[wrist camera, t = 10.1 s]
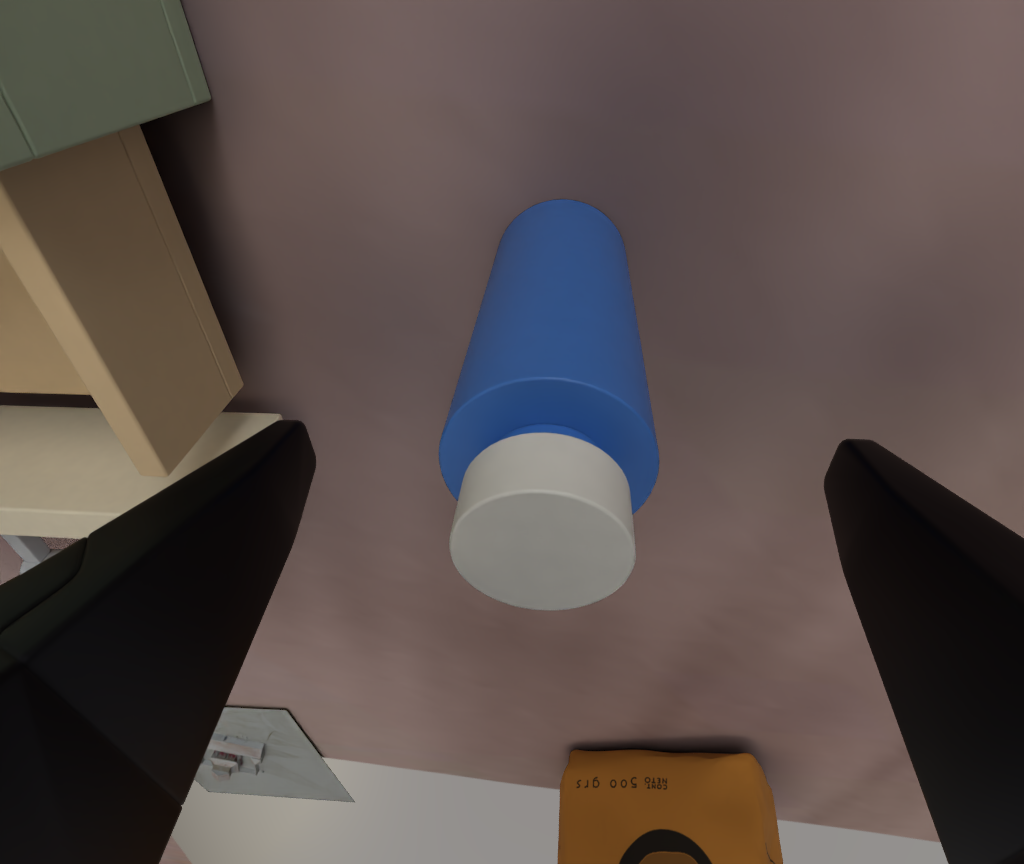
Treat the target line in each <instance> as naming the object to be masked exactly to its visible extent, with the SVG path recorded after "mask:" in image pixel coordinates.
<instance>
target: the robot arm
mask: <svg viewBox="0 0 1024 864" xmlns="http://www.w3.org/2000/svg"><path fill="white" fill-rule="evenodd" d="M315 468H316V456H315V452H314V449H313V446H312V444H311V441H310V438H309V435H308V432H307V429H306V426H305V425H304V423H303V422H301V421H298V420H278V421H276V422H274V423H273V424H271V425H269V426H268V427H266V428H264V429H263V430H261V431H259V432H258V433H256V434H254V435H253V436H251V437H249V438H248V439H246V440H244V441H243V442H241V443H239V444H238V445H236V446H234V447H233V448H231V449H229V450H228V451H226V452H224V453H223V454H221V455H219V456H218V457H216V458H214V459H213V460H211V461H209V462H208V463H206V464H204V465H203V466H201V467H199V468H198V469H196V470H195V471H193V472H191V473H190V474H188V475H186V476H185V477H183V478H181V479H180V480H178V481H176V482H175V483H173V484H171V485H170V486H168V487H166V488H165V489H163V490H161V491H160V492H158V493H156V494H155V495H153V496H151V497H150V498H148V499H146V500H145V501H143V502H141V503H140V504H138V505H136V506H135V507H133V508H131V509H130V510H128V511H126V512H125V513H123V514H121V515H120V516H118V517H116V518H115V519H113V520H112V521H110V522H108V523H107V524H105V525H103V526H102V527H100V528H98V529H97V530H95V531H93V532H92V533H90V534H89V536H88V538H87V537H83V538H81V539H80V540H78V541H76V542H75V543H73V544H72V545H70V546H68V547H67V548H65V549H63V550H62V551H60V552H58V553H57V554H55V555H53V556H51V557H50V558H48V559H46V560H45V561H43V562H41V563H39V564H38V565H36V566H34V567H33V568H31V569H29V570H27V571H26V572H24V573H22V574H20V575H19V576H17V577H15V578H13V579H11V580H9V581H8V582H6V583H4V584H2V585H0V864H159V862H160V860H161V857H162V855H163V853H164V850H165V848H166V846H167V843H168V841H169V838H170V836H171V834H172V831H173V829H174V826H175V824H176V822H177V819H178V817H179V815H180V812H181V810H182V806H181V805H183V804H184V802H185V799H186V797H187V795H188V792H189V790H190V788H191V785H192V783H193V781H194V778H195V776H196V773H197V771H198V769H199V766H200V764H201V762H202V759H203V757H204V754H205V752H206V750H207V747H208V745H209V743H210V740H211V738H212V736H213V733H214V731H215V728H216V726H217V724H218V721H219V719H220V717H221V714H222V712H223V709H224V707H225V705H226V702H227V700H228V698H229V695H230V693H231V690H232V688H233V686H234V683H235V681H236V679H237V676H238V674H239V672H240V669H241V667H242V664H243V662H244V660H245V657H246V655H247V653H248V650H249V648H250V645H251V643H252V641H253V638H254V636H255V634H256V631H257V629H258V626H259V624H260V622H261V619H262V617H263V615H264V612H265V610H266V608H267V605H268V603H269V600H270V598H271V596H272V593H273V591H274V589H275V586H276V584H277V581H278V579H279V577H280V574H281V572H282V570H283V567H284V565H285V562H286V560H287V558H288V555H289V553H290V550H291V548H292V545H293V543H294V540H295V537H296V534H297V531H298V527H299V524H300V520H301V517H302V514H303V510H304V507H305V503H306V500H307V496H308V493H309V489H310V486H311V482H312V479H313V476H314V472H315ZM824 491H825V495H826V500H827V504H828V509H829V513H830V517H831V522H832V526H833V531H834V535H835V539H836V544H837V548H838V553H839V557H840V561H841V565H842V569H843V572H844V575H845V578H846V581H847V584H848V587H849V590H850V593H851V596H852V598H853V601H854V604H855V607H856V609H857V612H858V615H859V618H860V620H861V623H862V626H863V629H864V632H865V634H866V637H867V640H868V643H869V645H870V648H871V651H872V654H873V656H874V659H875V662H876V665H877V667H878V670H879V673H880V676H881V678H882V681H883V684H884V687H885V690H886V692H887V695H888V698H889V701H890V703H891V706H892V709H893V712H894V714H895V717H896V720H897V723H898V725H899V728H900V731H901V734H902V737H903V739H904V742H905V745H906V748H907V750H908V753H909V756H910V759H911V761H912V764H913V767H914V770H915V772H916V775H917V778H918V781H919V783H920V786H921V789H922V792H923V795H924V797H925V800H926V803H927V806H928V808H929V811H930V814H931V817H932V819H933V822H934V825H935V828H936V830H937V833H938V836H939V839H940V842H941V844H942V847H943V850H944V852H945V855H946V858H947V861H948V863H949V864H1024V538H1022V537H1021V536H1019V535H1018V534H1016V533H1015V532H1013V531H1012V530H1010V529H1008V528H1007V527H1005V526H1004V525H1002V524H1001V523H999V522H998V521H996V520H995V519H993V518H992V517H990V516H988V515H987V514H985V513H984V512H982V511H981V510H979V509H978V508H976V507H975V506H973V505H971V504H970V503H968V502H967V501H965V500H964V499H962V498H961V497H959V496H958V495H956V494H955V493H953V492H951V491H950V490H948V489H947V488H945V487H944V486H942V485H941V484H939V483H938V482H936V481H934V480H933V479H931V478H930V477H928V476H927V475H925V474H924V473H922V472H921V471H919V470H917V469H916V468H914V467H913V466H911V465H910V464H908V463H907V462H905V461H904V460H902V459H901V458H899V457H897V456H896V455H894V454H893V453H891V452H890V451H888V450H887V449H885V448H884V447H882V446H880V445H879V444H877V443H876V442H874V441H872V440H865V439H846V440H843V441H842V442H841V443H840V444H839V446H838V448H837V450H836V452H835V455H834V457H833V459H832V461H831V464H830V466H829V468H828V471H827V473H826V476H825V479H824Z"/></svg>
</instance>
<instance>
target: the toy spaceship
mask: <svg viewBox="0 0 1024 864" xmlns="http://www.w3.org/2000/svg"><path fill="white" fill-rule="evenodd" d="M194 780H196V781H197V782H198V783H199V784H200V785H201V786H202V787H204V788H205V789H206V790H207V791H208V792H217V793H231V794H245V795H260V796H274V797H288V798H302V799H316V800H330V801H344V802H355V801H354V800H353V799H352V797H351V796H350V795H349V793H348V792H347V791H346V789H345V788H344V787H343V785H342V784H341V783H340V781H339V780H338V779H337V777H336V776H335V775H334V773H333V772H332V771H331V769H330V768H329V767H328V766H327V764H326V763H325V761H324V760H323V759H322V757H321V756H320V755H319V753H318V752H317V751H316V749H315V748H314V747H313V745H312V744H311V743H310V741H309V740H308V739H307V737H306V736H305V735H304V733H303V732H302V731H301V729H300V728H299V727H298V725H297V724H296V723H295V721H294V720H293V719H292V717H291V716H290V715H289V713H288V712H287V711H286V710H269V709H249V708H228V707H224V709H223V712H222V714H221V717H220V719H219V721H218V724H217V726H216V728H215V731H214V733H213V736H212V738H211V740H210V743H209V745H208V747H207V750H206V752H205V754H204V757H203V759H202V762H201V764H200V766H199V769H198V771H197V773H196V776H195V778H194Z"/></svg>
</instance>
